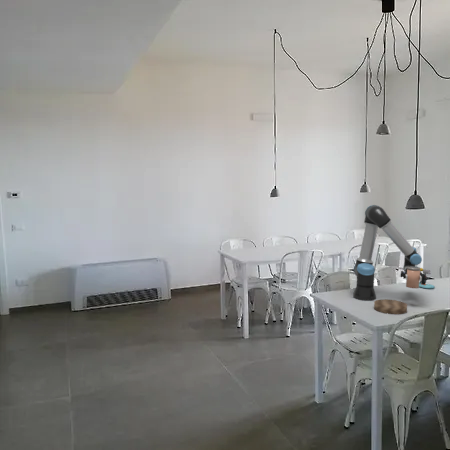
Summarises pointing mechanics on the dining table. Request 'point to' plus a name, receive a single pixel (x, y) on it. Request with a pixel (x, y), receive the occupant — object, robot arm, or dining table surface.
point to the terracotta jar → (413, 277)
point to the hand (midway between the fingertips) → (413, 278)
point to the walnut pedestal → (390, 306)
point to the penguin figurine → (423, 281)
